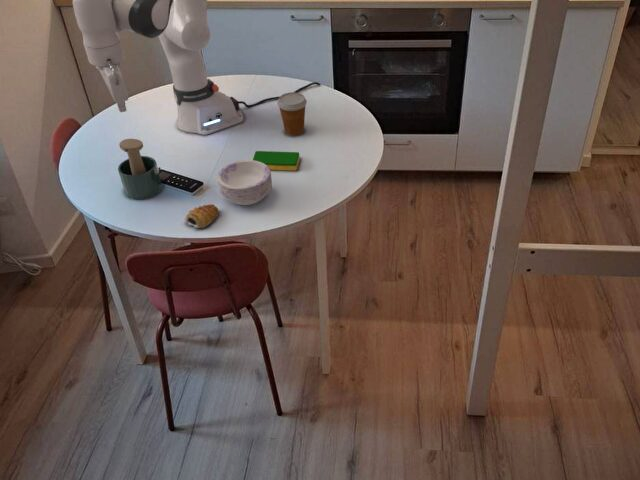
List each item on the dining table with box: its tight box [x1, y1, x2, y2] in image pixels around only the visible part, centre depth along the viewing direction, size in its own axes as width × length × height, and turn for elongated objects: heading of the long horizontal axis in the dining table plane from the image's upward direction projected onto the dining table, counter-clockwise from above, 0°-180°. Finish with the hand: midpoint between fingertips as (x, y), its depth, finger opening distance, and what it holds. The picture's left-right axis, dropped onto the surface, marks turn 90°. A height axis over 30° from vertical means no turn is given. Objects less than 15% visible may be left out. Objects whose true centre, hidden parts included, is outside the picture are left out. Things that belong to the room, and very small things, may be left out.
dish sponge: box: [252, 150, 301, 172], centre depth 191 cm, size 7×14×2 cm, turn 86°
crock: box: [117, 155, 163, 200], centre depth 179 cm, size 11×11×8 cm
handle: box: [118, 138, 146, 175], centre depth 177 cm, size 5×6×15 cm
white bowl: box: [216, 159, 273, 206], centre depth 176 cm, size 15×15×8 cm
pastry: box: [184, 204, 219, 229], centre depth 169 cm, size 9×7×4 cm
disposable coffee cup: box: [277, 91, 308, 137], centre depth 202 cm, size 10×10×12 cm
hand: (119, 103), depth 164 cm, fingers open, 8 cm apart
